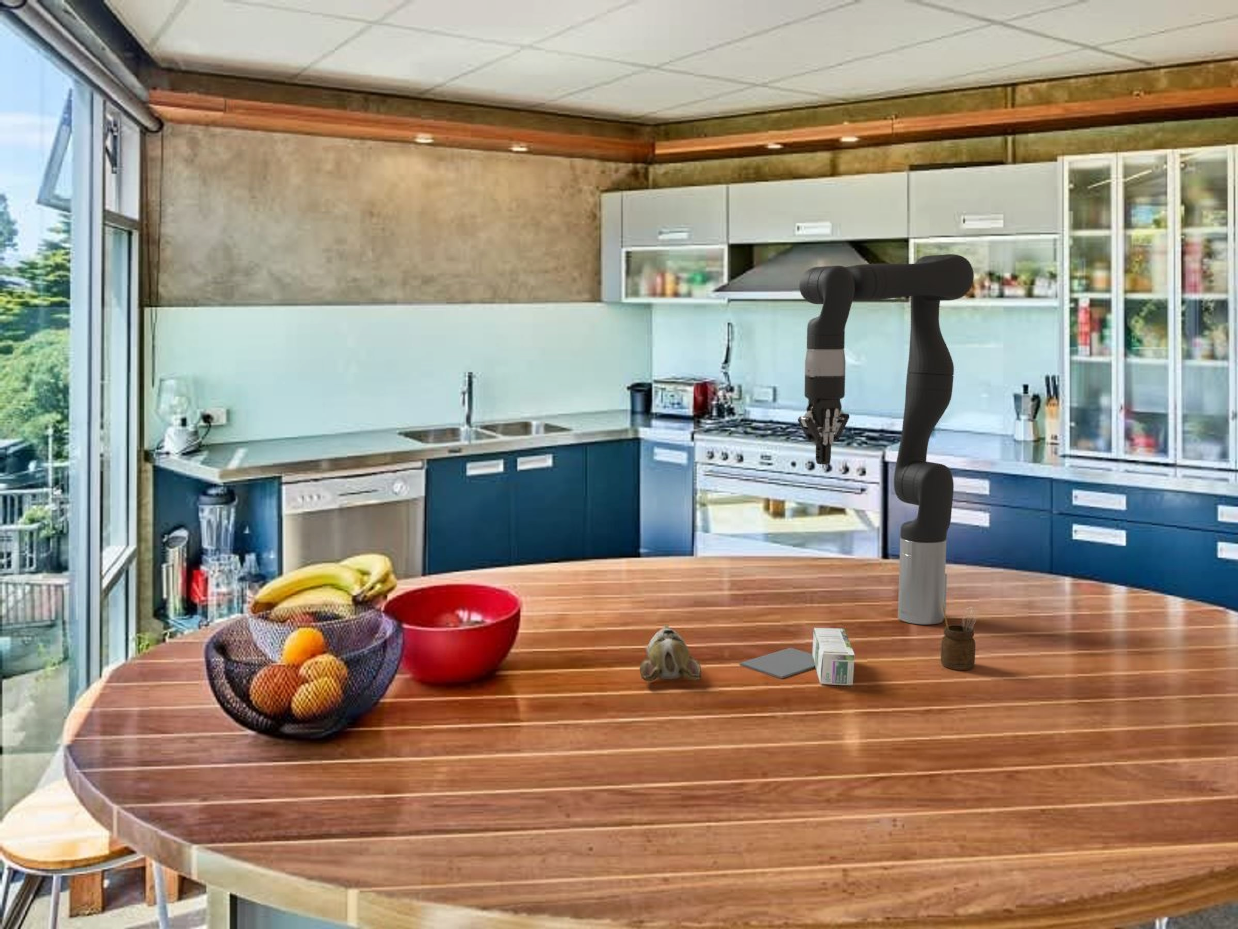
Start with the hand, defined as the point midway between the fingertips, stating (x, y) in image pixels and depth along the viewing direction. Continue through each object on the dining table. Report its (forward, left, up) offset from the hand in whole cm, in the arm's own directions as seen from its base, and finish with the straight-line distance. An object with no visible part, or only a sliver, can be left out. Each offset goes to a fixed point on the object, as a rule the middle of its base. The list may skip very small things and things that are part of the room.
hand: (823, 463), depth 205 cm
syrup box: (+8, +8, -32) cm, 34 cm away
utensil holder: (-7, +26, -35) cm, 44 cm away
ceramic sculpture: (+36, -4, -35) cm, 51 cm away
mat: (+15, +5, -35) cm, 39 cm away
